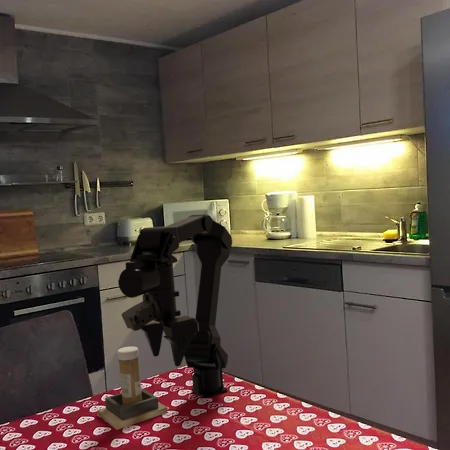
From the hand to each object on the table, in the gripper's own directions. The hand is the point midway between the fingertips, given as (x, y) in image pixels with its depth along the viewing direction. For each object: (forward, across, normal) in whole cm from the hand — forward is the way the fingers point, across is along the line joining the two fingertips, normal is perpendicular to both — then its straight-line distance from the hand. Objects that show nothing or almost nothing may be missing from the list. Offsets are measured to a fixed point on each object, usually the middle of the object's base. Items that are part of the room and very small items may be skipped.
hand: (166, 360), depth 115 cm
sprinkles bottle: (+12, -10, -4) cm, 16 cm away
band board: (+13, -10, -4) cm, 17 cm away
